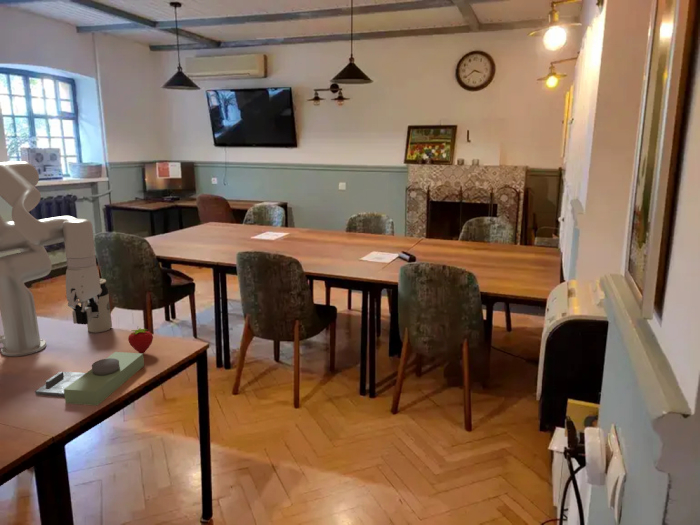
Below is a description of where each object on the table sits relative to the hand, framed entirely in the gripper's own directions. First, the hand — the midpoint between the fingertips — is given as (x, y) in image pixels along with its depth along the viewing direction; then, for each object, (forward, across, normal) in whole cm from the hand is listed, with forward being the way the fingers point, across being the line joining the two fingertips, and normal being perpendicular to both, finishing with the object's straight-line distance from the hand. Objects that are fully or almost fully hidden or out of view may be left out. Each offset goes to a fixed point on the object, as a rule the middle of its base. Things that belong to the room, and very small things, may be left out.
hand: (88, 319), depth 155 cm
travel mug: (+15, -28, -15) cm, 35 cm away
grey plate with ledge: (+15, +13, +2) cm, 20 cm away
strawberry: (+15, -10, +11) cm, 21 cm away
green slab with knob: (+15, +10, +11) cm, 21 cm away
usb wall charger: (+1, 0, 0) cm, 1 cm away
